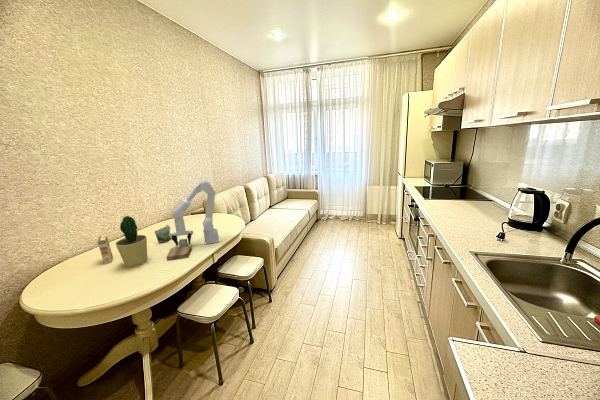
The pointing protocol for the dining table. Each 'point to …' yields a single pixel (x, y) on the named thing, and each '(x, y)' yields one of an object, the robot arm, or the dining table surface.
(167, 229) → the food container
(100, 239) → the candy box
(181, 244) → the sage block
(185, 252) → the walnut box
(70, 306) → the dining table surface
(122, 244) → the potted cactus
